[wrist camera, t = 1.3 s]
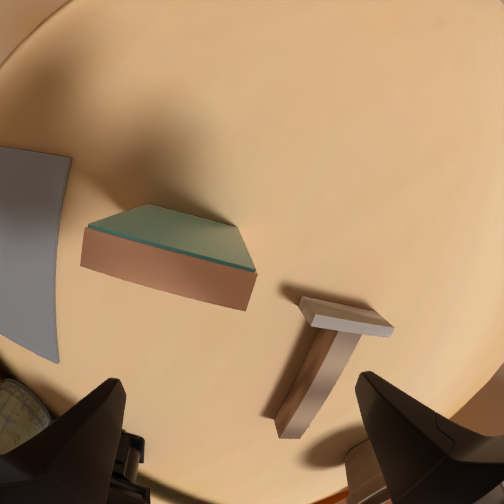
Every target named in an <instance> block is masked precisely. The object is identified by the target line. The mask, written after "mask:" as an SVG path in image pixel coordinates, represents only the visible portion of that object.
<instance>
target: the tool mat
mask: <svg viewBox="0 0 504 504" xmlns="http://www.w3.org/2000/svg"><path fill="white" fill-rule="evenodd" d="M71 160H72V158H69V157H63V156H58V155H52V154H46V153H40V152H34V151H28V150H21V149H15V148H8V147H0V334H2V335H3V336H5V337H7V338H8V339H10V340H12V341H13V342H15V343H17V344H19V345H20V346H22V347H24V348H26V349H28V350H30V351H32V352H34V353H35V354H37V355H39V356H41V357H43V358H46V359H48V360H50V361H52V362H54V363H56V364H58V363H59V362H60V360H59V352H58V342H57V329H56V308H55V278H56V257H57V244H58V234H59V225H60V217H61V210H62V204H63V198H64V192H65V187H66V182H67V177H68V173H69V168H70V164H71Z"/></svg>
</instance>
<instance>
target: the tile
mask: <svg viewBox="0 0 504 504" xmlns="http://www.w3.org/2000/svg"><path fill="white" fill-rule="evenodd" d="M80 266H82V267H85V268H88V269H91V270H94V271H97V272H100V273H104V274H107V275H110V276H113V277H116V278H120V279H123V280H126V281H130V282H133V283H136V284H140V285H143V286H147V287H150V288H154V289H157V290H161V291H165V292H168V293H172V294H176V295H180V296H183V297H187V298H191V299H195V300H199V301H203V302H207V303H211V304H216V305H220V306H224V307H228V308H233V309H237V310H242V311H246V309H247V305H248V302H249V299H250V296H251V293H252V290H253V287H254V284H255V281H256V278H257V275H258V274H257V272H256V268H255V266H254V264H253V261H252V259H251V257H250V255H249V252H248V250H247V248H246V245H245V243H244V241H243V238H242V236H241V234H240V231H239V229H238V227H234V226H230V225H227V224H223V223H219V222H216V221H212V220H208V219H205V218H201V217H197V216H194V215H190V214H186V213H182V212H179V211H175V210H171V209H167V208H163V207H160V206H156V205H152V204H146V205H143V206H140V207H136V208H133V209H130V210H127V211H124V212H121V213H118V214H115V215H112V216H110V217H107V218H104V219H101V220H98V221H96V222H93V223H90V224H88V227H85V230H84V237H83V245H82V254H81V264H80Z"/></svg>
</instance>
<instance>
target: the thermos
mask: <svg viewBox="0 0 504 504" xmlns="http://www.w3.org/2000/svg"><path fill="white" fill-rule="evenodd" d="M49 422H50V415H49V412H48V410H47V409H46V407H45V406H44V404H43V403H42V402H41V401H40V400H39V398H38V397H37V396H36V395H35V394H34V393H33V392H32V391H31V390H30V389H28V388H27V387H26V386H24V385H23V384H22V383H20V382H18V381H16V380H14V379H10V378H7V379H5V380H4V381H3V383H2V384H1V386H0V455H2V454H5V453H7V452H9V451H11V450H12V449H14V448H16V447H18V446H19V445H21V444H23V443H24V442H26V441H28V440H29V439H31V438H32V437H34V436H35V435H37V434H38V433H39V432H41V431H42V430H44V429H45V428H46V427H47V425H48V424H49Z"/></svg>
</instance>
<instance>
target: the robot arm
mask: <svg viewBox="0 0 504 504" xmlns="http://www.w3.org/2000/svg"><path fill="white" fill-rule="evenodd" d="M355 393H356V396H357V400H358V404H359V408H360V412H361V416H362V420H363V423H364V426H365V429H366V431H367V434H368V437H369V439H370V442H371V445H372V447H373V450H374V453H375V455H376V458H377V461H378V464H379V466H380V469H381V472H382V475H383V478H384V481H385V483H386V486H387V489H388V492H389V495H390V498H391V501H392V504H504V435H501V436H492V437H490V436H484V435H481V434H479V433H476V432H474V431H472V430H469V429H467V428H465V427H463V426H461V425H458V424H456V423H454V422H452V421H451V420H449V419H447V418H445V417H443V416H442V415H440V414H438V413H437V412H435V411H433V410H432V409H430V408H429V407H427V406H425V405H424V404H422V403H420V402H419V401H417V400H416V399H414V398H412V397H411V396H409V395H408V394H406V393H405V392H403V391H401V390H400V389H398V388H397V387H395V386H394V385H392V384H390V383H389V382H387V381H386V380H384V379H383V378H381V377H380V376H378V375H377V374H375V373H373V372H372V371H366V372H361V373H360V375H359V378H358V381H357V383H356V386H355ZM125 403H126V393H125V390H124V388H123V385H122V383H121V381H120V380H119V379H117V378H108V379H107V380H106V381H104V382H103V383H102V384H101V385H99V386H98V387H97V388H96V389H94V390H93V391H92V392H91V393H89V394H88V395H87V396H86V397H84V398H83V399H82V400H81V401H79V402H78V403H77V404H75V405H74V406H73V407H72V408H70V409H69V410H68V411H67V412H65V413H64V414H63V415H62V416H60V417H59V418H58V419H56V420H55V421H54V422H53V423H51V425H49V426H47V427H46V428H45V429H44V430H42V431H41V432H39V433H38V434H37V435H35V436H34V437H32V438H31V439H29V440H28V441H26V442H24V443H23V444H21V445H19V446H18V447H16V448H14V449H12V450H11V451H9V452H7V453H5V454H2V455H0V504H150V488H149V487H144V486H141V485H138V484H135V483H136V477H137V471H138V465H139V463H144V447H145V440H144V439H142V438H138V437H135V436H131V435H128V434H125V433H121V431H122V424H123V417H124V409H125Z"/></svg>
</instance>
